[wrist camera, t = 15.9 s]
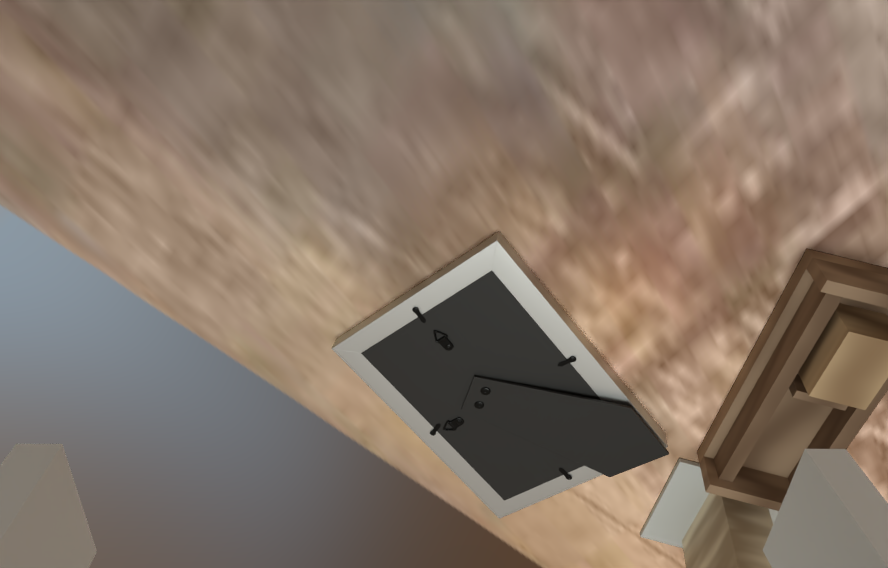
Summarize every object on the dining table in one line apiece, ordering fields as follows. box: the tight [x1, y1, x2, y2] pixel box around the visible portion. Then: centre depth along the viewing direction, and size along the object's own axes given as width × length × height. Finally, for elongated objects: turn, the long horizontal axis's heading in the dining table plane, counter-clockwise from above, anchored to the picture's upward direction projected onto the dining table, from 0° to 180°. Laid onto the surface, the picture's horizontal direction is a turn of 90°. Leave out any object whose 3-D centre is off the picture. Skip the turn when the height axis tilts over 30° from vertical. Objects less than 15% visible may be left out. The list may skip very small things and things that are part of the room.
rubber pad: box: [640, 458, 779, 548], centre depth 54 cm, size 10×9×1 cm
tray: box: [697, 249, 888, 511], centre depth 45 cm, size 8×18×4 cm, turn 169°
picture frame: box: [332, 232, 669, 519], centre depth 51 cm, size 16×3×21 cm
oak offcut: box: [798, 303, 888, 410], centre depth 42 cm, size 4×5×4 cm
